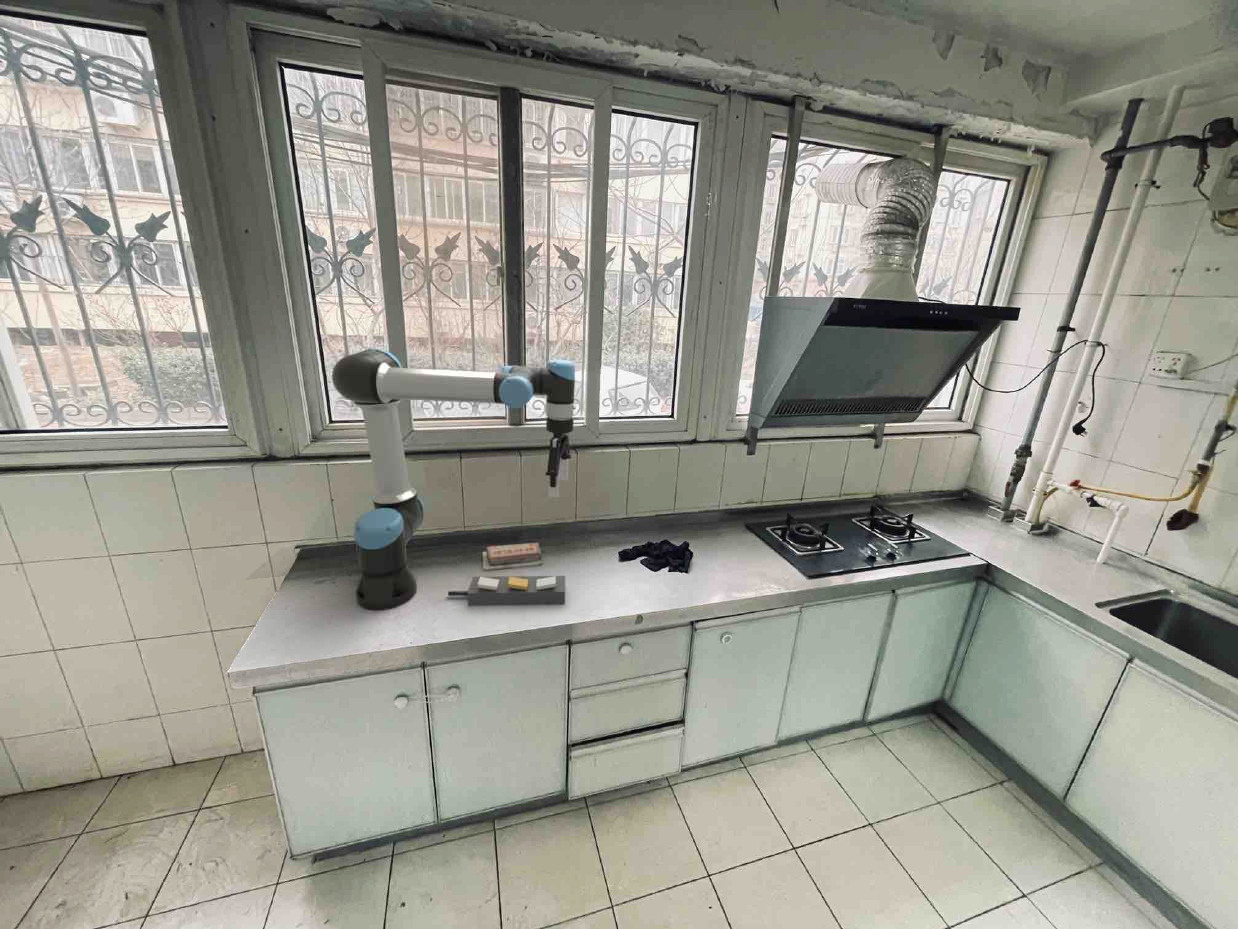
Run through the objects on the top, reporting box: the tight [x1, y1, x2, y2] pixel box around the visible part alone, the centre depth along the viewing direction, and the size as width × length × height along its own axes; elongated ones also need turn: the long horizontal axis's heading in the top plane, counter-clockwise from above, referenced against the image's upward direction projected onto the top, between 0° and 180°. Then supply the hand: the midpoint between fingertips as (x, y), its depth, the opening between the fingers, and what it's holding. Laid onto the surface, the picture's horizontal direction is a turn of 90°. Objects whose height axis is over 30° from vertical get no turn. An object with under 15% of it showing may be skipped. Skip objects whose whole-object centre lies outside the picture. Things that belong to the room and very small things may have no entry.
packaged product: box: [482, 542, 543, 572], centre depth 155 cm, size 18×5×10 cm
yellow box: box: [508, 577, 528, 590], centre depth 134 cm, size 5×4×1 cm
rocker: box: [536, 575, 557, 590], centre depth 135 cm, size 5×4×1 cm
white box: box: [477, 576, 499, 590], centre depth 134 cm, size 5×4×1 cm
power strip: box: [447, 575, 566, 607], centre depth 136 cm, size 32×8×4 cm, turn 95°
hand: (558, 487), depth 143 cm, fingers open, 13 cm apart
